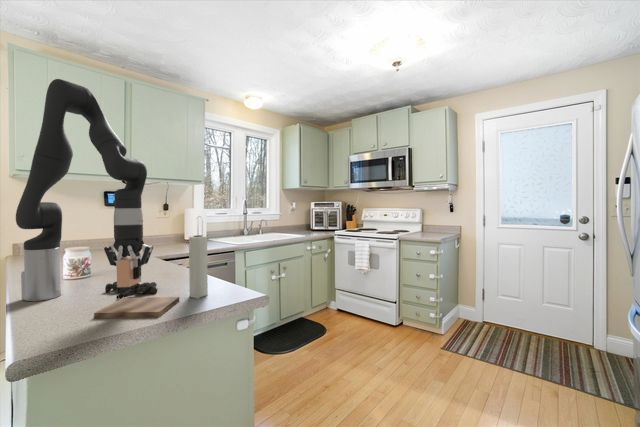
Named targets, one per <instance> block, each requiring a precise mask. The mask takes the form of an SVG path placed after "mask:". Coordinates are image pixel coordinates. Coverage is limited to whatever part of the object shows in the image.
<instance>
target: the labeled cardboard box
mask: <svg viewBox="0 0 640 427" xmlns="http://www.w3.org/2000/svg"><path fill="white" fill-rule="evenodd" d="M115 267H116V268H115V269H116V282H117V287H130V286H132V285H135V284H137V283H139V284H140V283H141V282H142V275H141V276H140V277H139V278H138V279H133V268H134V264H133V261H132V259H131V257H130V256H128V257H127V258H124V259H121V260H116V266H115Z"/></svg>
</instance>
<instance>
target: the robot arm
mask: <svg viewBox="0 0 640 427" xmlns="http://www.w3.org/2000/svg"><path fill="white" fill-rule="evenodd" d="M66 113H70V114H74V115H77V116H78V115H80V116H82V117H83V118H84V119H85V120H86V121H87V122H88V124H89V129H88V137H89V139H90V142H91V144H92V145H93V147H94V148H95V149H96V151H97V152H98V154H100V155H101V159H102V162H103V166H104V168H105V171H106V173H107V175H108V176H110V177H111V178H112V179H114V180H117V181H123V182H126V184H125V186H124V187H123V188H118V189H117V190H115V191H114V194H113V195H114V200H113V201H114V204H113V205H114V206H113V207H114V208H113V209H114V211H113V237H114V238H113V239H114V242H113V244H112V245H109V246H105V247H104V248H103V250H104V253H105V256H106V257H107V260H108V262H109V265H110V266H113V267H116V260H121V259H124V258H127V257H131V259H132V261H133V264H134V268H133V279H138V278H139V277H140V276H141V277H142V266H144V265H147V264H148V263H149V260H150V258H151V254H152V252H153V249H154V245H147V244H145V242H144V240H143V238H144V220H143V218H144V217H143V216H144V215H143V210H142V209H143V208H142V194H143V192H144V188H145V184H146V180H147V176H148V170H147V167H146V165H145V163H144V162H143V161H142V160H139V159H136V158H131V157H125V156H126V155H127V153H128V152H127V147H126V146H125V144H124V143H123V142H122V141H121V139H120V137H119V136H118V135H117V134H116V133H115V131H114V130H113V128H112V127H111V125H110V124H109V121H108V120H107V118H106V115H105V113H104V111H103V109H102V108H101V106H100V104H99V102H98V100H97V98H96V95H94V93H93V92H92V91H91V90H90V89H89V88H87V87H85V86H82V85H79V84H76V83H73V82H70V81H68V80H65V79H61V78H55V79H53V80H52V81H51V82H50V83H49V85H48V87H47V91H46V96H45V102H44V108H43V115H42V116H43V117H42V123H41V128H40V131H39V135H38V136H39V137H38V138H37V143H36V145H35V150H34V153H33V155H32V156H33V158H32V161H31V166H30V169H29V173H28V174H29V175H28V178H27V182H26V183H25V184H26V185H25V187H24V190H23V192H22V194H21V197H20V200H19V201H18V202H19V203H18V205H17V207H16V212H15V222H16V225H17V227H18V228H19V229H22V230H42V231H41V232H40V233H39V234H38V235H36V236H34V237H32V238H30V239H26V240H25V241H24V242H23V263H24V264H23V269H24V270H23V271H21V273H20V279H21V280H20V283H21V289H20V290H21V291H20V292H21V301H25V302H38V301H39V302H40V301H46V300H51V299H55V298H57V297H60V296H62V287H61V286H62V285H61V284H62V281H61V280H62V278H61V240H62V232H63V231H62V230H63V211H62V208H61V206H60V205H59V204H58V203H56V202H50V201H49V202H48V201H46V202H45V201H44V202H43V201H42V200H43V198H44V195H45V194H46V193H47V192H48V191H49V189H51V188H52V187H54V186H55V185H56V184H57V183H58V182H60V181H61V180H62V179H63V178H64V177H65V176H66V175H67V174H68V172H69V170H70V167H71V163H72V159H73V157H74V155H73V154H74V153H73V148H72V145H71V144H70V141H69V139H68V137H67V134H66V131H65V126H64V125H65V124H64V123H65V117H66ZM116 251H117V254H116ZM141 251H142V252H143V254H141Z"/></svg>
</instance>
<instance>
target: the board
mask: <svg viewBox="0 0 640 427" xmlns="http://www.w3.org/2000/svg"><path fill="white" fill-rule="evenodd" d="M179 302H180V296H159V297H157V296H156V297H154V296H153V297H150V296H149V297H123V298H121V299H120V298H119V299H117V300H116V301H115V302H113V303H111V304H109V305H107V306H105V307H103V308H101V309H99V310H97V311H96V312H93V319H118V318H120V319H121V318H123V319H124V318H128V319H129V318H160V317H161V316H162V315H164V314H165V313H166V312H167V311H168V310H170V309H171V308H173V307H174V306H176V304H178V303H179Z"/></svg>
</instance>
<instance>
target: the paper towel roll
mask: <svg viewBox="0 0 640 427" xmlns="http://www.w3.org/2000/svg"><path fill="white" fill-rule="evenodd" d="M188 256H189V257H188V265H189V268H188V269H189V272H188V273H189V274H188V275H189V280H188V281H189V284H188V285H189V297H191V298H193V299H200V298H202V297H205V296H207V295H208V294H209V292H208V291H209V290H208V285H209V284H208V236H207V235H203V234H202V235H201V234H198V235H197V234H196V235H191V236H188Z"/></svg>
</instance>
